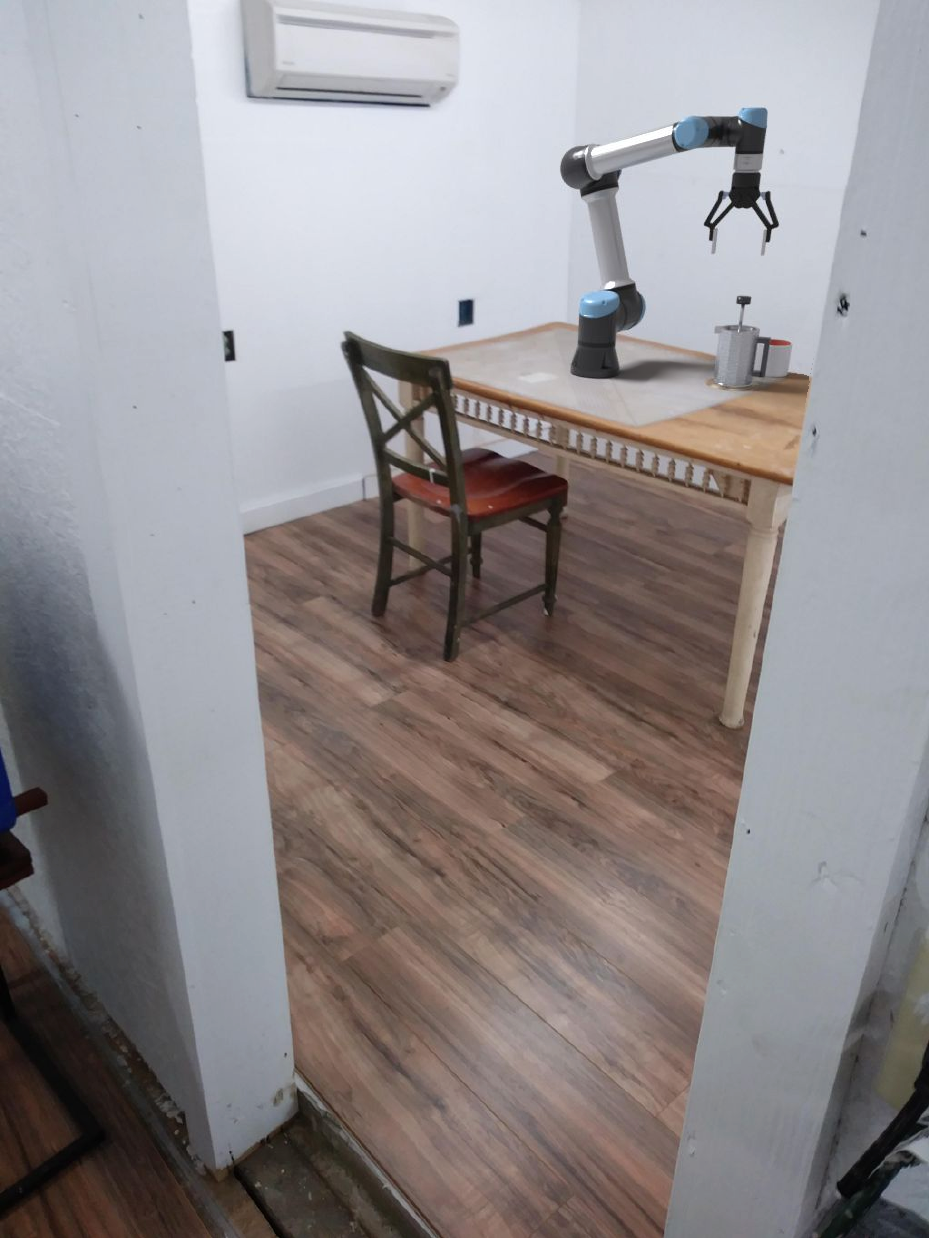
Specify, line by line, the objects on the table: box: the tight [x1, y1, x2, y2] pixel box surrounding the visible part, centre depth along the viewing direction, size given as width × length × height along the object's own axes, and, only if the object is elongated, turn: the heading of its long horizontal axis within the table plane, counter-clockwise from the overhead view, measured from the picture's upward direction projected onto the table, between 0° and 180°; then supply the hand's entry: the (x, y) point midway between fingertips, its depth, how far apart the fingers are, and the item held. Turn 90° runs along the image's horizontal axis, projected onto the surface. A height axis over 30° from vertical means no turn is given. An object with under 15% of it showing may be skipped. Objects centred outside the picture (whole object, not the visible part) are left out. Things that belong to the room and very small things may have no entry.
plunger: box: [730, 295, 752, 332], centre depth 275 cm, size 8×8×11 cm
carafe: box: [712, 324, 772, 389], centre depth 280 cm, size 16×11×16 cm
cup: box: [754, 338, 793, 378], centre depth 294 cm, size 10×10×10 cm
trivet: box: [704, 377, 761, 392], centre depth 284 cm, size 16×16×1 cm
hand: (737, 254), depth 271 cm, fingers open, 13 cm apart
